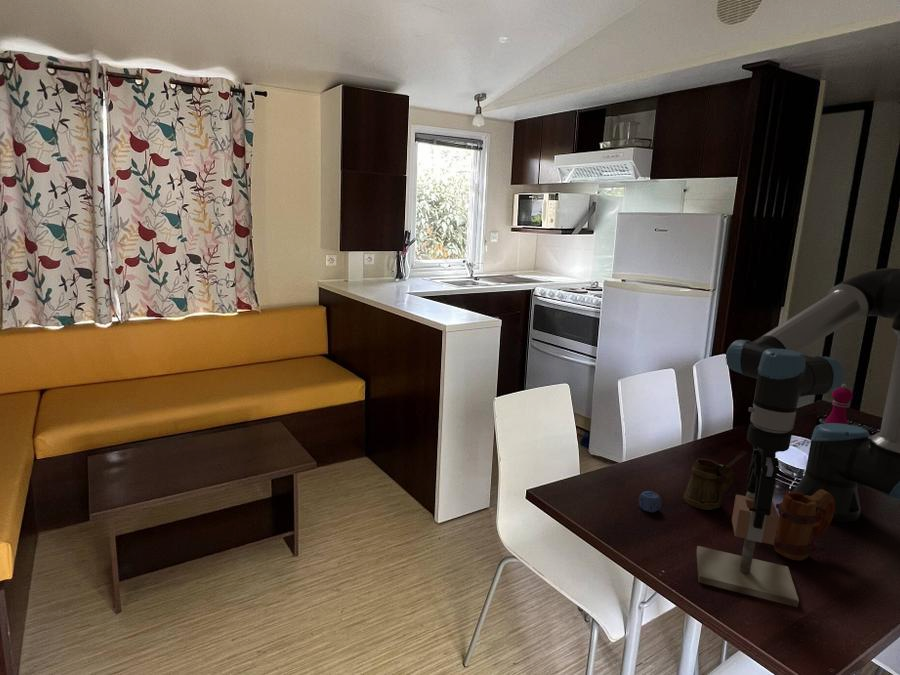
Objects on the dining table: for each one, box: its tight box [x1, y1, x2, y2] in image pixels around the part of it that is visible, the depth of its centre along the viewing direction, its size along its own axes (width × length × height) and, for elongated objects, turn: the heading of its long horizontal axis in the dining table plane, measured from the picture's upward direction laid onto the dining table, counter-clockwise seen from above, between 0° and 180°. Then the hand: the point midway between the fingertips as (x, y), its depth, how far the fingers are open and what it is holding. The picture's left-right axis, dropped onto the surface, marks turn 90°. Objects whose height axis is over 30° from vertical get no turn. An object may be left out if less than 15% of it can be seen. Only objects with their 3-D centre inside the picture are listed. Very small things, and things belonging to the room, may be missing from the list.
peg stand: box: [696, 538, 800, 608], centre depth 118 cm, size 18×12×14 cm, turn 69°
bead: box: [731, 494, 779, 546], centre depth 116 cm, size 7×7×6 cm
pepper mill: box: [824, 383, 854, 425], centre depth 201 cm, size 7×7×20 cm
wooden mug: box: [682, 450, 748, 511], centre depth 147 cm, size 9×14×18 cm, turn 41°
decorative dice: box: [638, 490, 662, 513], centre depth 146 cm, size 4×4×4 cm
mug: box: [773, 489, 835, 561], centre depth 128 cm, size 15×8×15 cm, turn 106°
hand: (751, 530), depth 117 cm, fingers closed on bead, 7 cm apart
